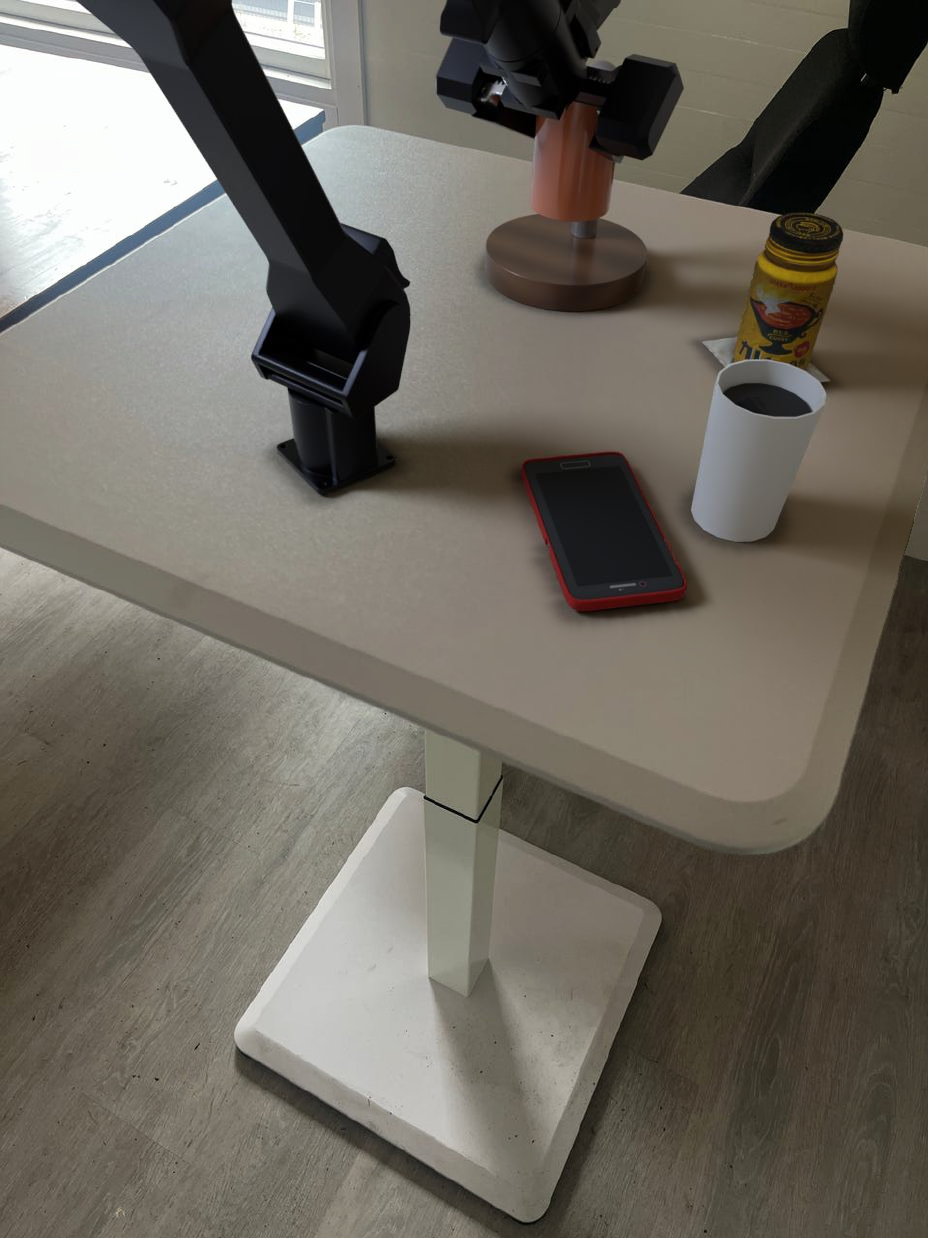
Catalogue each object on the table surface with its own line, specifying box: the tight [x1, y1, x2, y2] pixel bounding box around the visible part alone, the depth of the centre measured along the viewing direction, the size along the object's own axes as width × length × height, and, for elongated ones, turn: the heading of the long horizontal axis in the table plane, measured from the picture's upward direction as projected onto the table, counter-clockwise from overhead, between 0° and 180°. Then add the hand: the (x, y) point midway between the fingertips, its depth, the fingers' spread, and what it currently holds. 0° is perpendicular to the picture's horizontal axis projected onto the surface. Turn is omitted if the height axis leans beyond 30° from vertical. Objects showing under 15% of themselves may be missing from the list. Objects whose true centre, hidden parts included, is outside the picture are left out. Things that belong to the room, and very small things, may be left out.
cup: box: [529, 101, 617, 222], centre depth 76 cm, size 7×7×10 cm
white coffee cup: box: [690, 359, 827, 543], centre depth 61 cm, size 7×7×10 cm
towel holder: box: [484, 59, 648, 312], centre depth 82 cm, size 15×15×17 cm
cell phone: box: [520, 451, 688, 612], centre depth 62 cm, size 8×15×1 cm, turn 10°
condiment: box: [701, 211, 844, 383], centre depth 74 cm, size 7×8×12 cm
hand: (583, 147), depth 77 cm, fingers closed on cup, 7 cm apart
